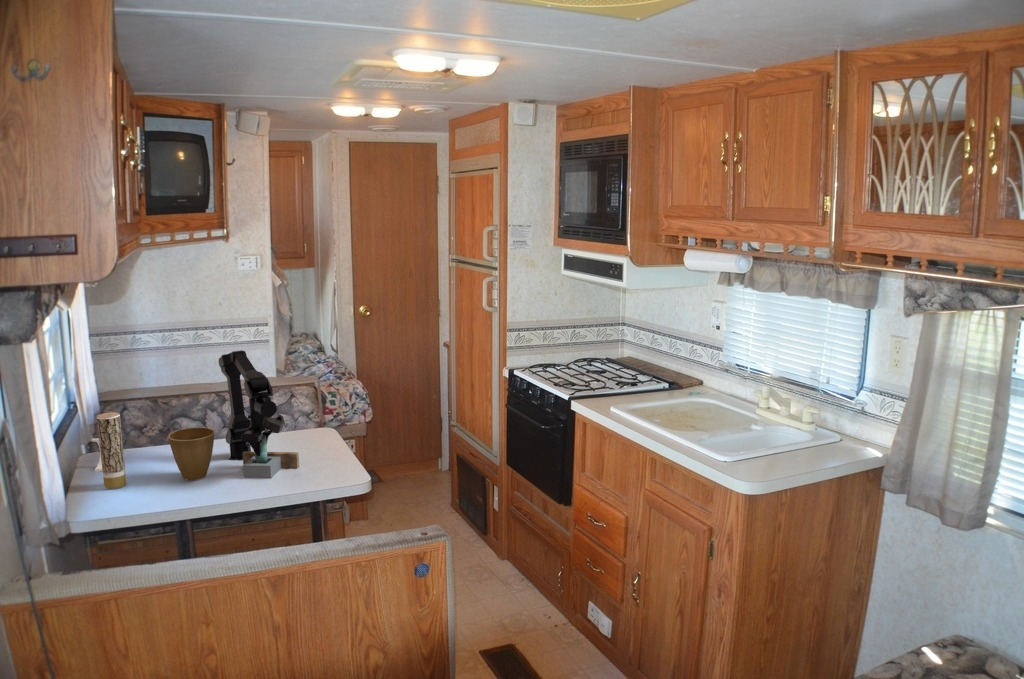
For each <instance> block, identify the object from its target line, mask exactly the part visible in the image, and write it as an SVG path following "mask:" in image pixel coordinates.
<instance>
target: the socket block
mask: <svg viewBox="0 0 1024 679" xmlns="http://www.w3.org/2000/svg"><path fill="white" fill-rule="evenodd" d="M267 460H268V463H267V464H260V463H256V459H255V456H253V457H252V458H251V459H249V460H248V461H247V462H246V463H245V464H243V463H242V465H241V466H242V477H243V478H244V479H245V478H246V479H247V478H248V479H249V478H250V479H253V478H254V479H272V478H273V477H274V476H275V475H276V474H277V473H279V471H280V470H281V469H282V468H281V457H279V456H267Z"/></svg>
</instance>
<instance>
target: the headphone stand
mask: <svg viewBox="0 0 1024 679" xmlns="http://www.w3.org/2000/svg"><path fill="white" fill-rule="evenodd" d="M90 441H91V442H93V443H95V442H96V443H97V445H98V448H99V450H100V442H99V438H91V440H90ZM94 472H95V473H96V472H98V473H99V472H103V471H102V461H101V452H100V451H99V460H98V463H97V466H96V467H95V469H94Z"/></svg>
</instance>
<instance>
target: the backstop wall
mask: <svg viewBox="0 0 1024 679" xmlns="http://www.w3.org/2000/svg"><path fill="white" fill-rule="evenodd" d="M242 454H243V460H242V465H243V464H245V463H246V462H247V461H248V460H249V459H251V458H252V457H253V456H255V452H254V451H251V452H247V451H245V452H243V453H242ZM267 456H279V457H281V469H293V470H297V469H299V468H300V454H299V452H298V451H297V452H296V451H295V452H293V451H290V452H289V451H267Z"/></svg>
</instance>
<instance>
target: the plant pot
mask: <svg viewBox="0 0 1024 679" xmlns="http://www.w3.org/2000/svg"><path fill="white" fill-rule="evenodd" d="M167 436H168V442H169V446H170V449H171V452H172V456H173V458H174V460H175V463H176V465H177V469H178V470H179V472H180V474H181V476H182V478H183V480H185V481H189V482H190V481H200V480H202V479H204V478H206V477H207V475H208V471H209V468H210V465H211V459H212V457H213V456H212V455H213V450H214V442H215V429H213V428H209V427H203V426H202V427H201V426H200V427H199V426H198V427H196V426H195V427H187V428H181V429H178V430H175V431H172V432H171V433H169V435H167Z"/></svg>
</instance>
